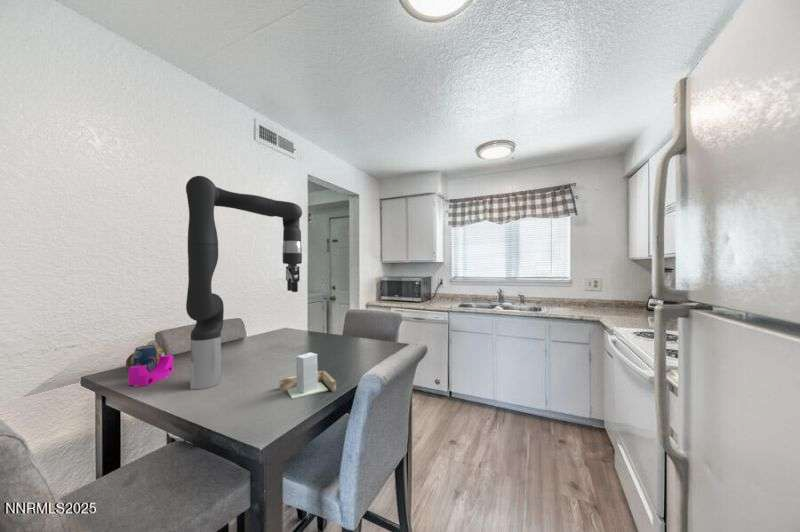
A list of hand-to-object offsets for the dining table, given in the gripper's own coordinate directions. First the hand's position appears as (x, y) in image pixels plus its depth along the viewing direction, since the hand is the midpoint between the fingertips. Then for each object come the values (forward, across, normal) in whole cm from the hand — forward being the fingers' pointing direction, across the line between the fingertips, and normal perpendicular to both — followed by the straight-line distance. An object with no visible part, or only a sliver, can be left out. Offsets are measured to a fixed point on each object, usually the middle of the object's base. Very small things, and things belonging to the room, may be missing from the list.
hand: (292, 291), depth 121 cm
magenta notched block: (+34, +18, +47) cm, 60 cm away
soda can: (+33, +24, +50) cm, 65 cm away
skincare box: (+33, -23, 0) cm, 40 cm away
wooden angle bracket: (+33, -23, 0) cm, 40 cm away
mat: (+33, -23, 0) cm, 40 cm away
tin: (+33, +37, +52) cm, 72 cm away
